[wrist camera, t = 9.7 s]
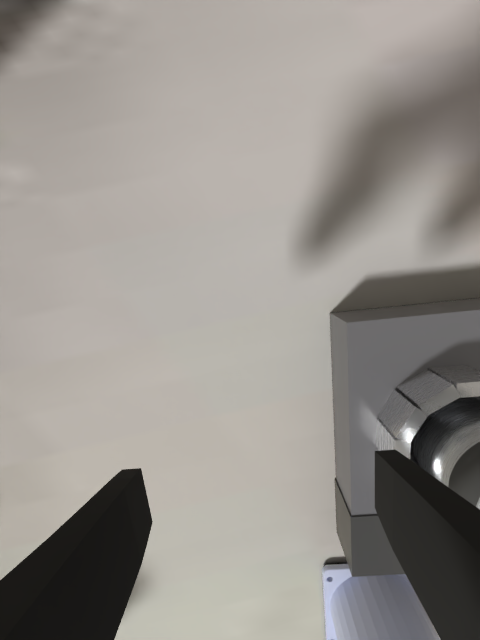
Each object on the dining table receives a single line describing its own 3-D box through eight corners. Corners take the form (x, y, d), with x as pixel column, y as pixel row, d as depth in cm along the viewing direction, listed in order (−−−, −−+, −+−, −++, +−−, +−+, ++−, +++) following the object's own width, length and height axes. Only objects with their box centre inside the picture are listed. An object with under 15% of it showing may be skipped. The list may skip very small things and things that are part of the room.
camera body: (480, 522, 20) (554, 604, 16) (336, 531, 21) (364, 612, 16) (503, 295, 17) (609, 308, 12) (328, 313, 17) (360, 331, 12)
